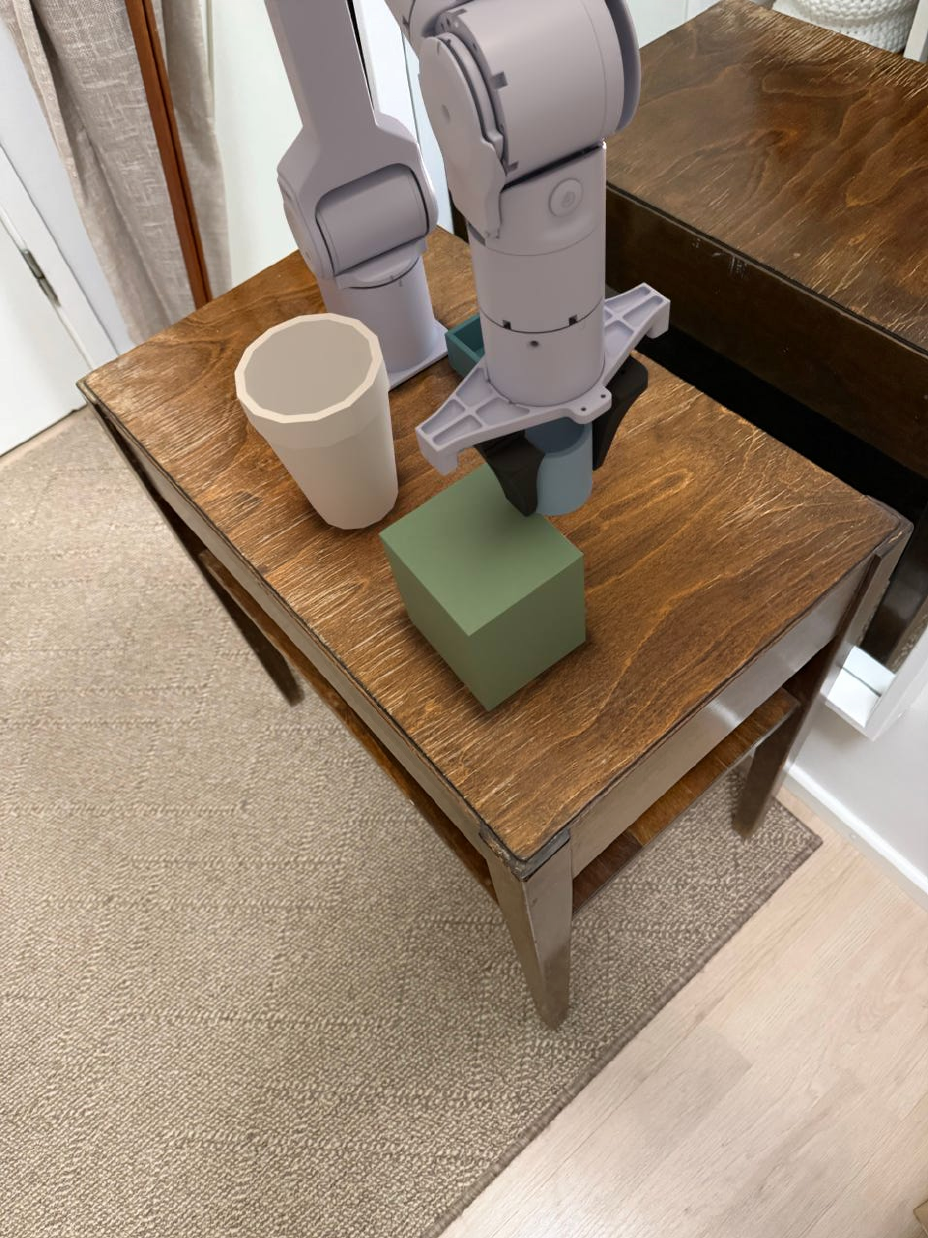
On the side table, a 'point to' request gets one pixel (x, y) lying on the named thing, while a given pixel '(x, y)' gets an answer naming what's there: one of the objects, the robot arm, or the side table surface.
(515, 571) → the sage green cube
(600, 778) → the side table surface
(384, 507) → the foam cup
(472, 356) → the bin
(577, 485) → the blue cup
